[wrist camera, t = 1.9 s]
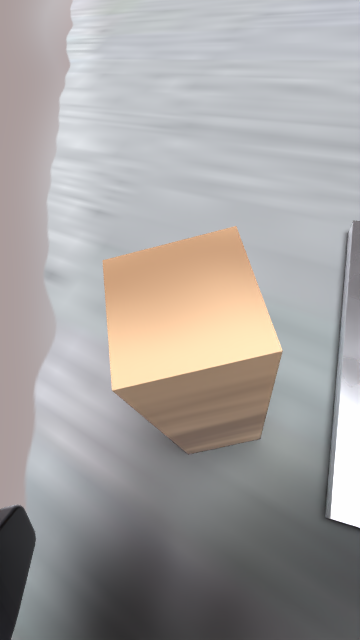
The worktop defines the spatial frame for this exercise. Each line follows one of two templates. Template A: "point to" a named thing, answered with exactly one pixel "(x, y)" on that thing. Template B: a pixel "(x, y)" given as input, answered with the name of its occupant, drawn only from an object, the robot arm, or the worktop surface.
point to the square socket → (347, 399)
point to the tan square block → (192, 340)
